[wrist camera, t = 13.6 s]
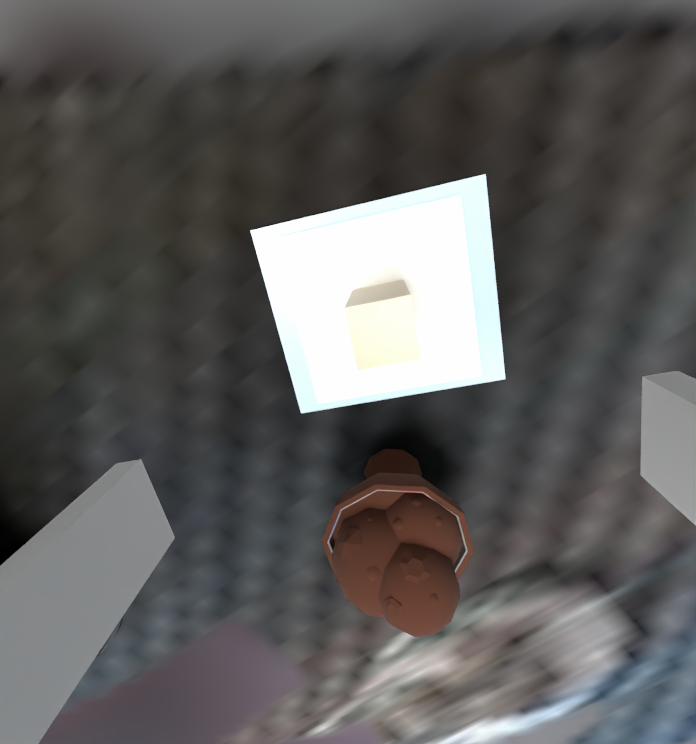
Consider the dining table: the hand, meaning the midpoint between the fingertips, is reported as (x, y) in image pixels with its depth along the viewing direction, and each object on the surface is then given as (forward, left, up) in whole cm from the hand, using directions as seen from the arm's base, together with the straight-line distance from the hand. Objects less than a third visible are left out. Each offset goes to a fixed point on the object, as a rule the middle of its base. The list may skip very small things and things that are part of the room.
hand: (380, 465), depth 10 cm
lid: (0, 0, -23) cm, 23 cm away
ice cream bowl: (-2, -16, -24) cm, 29 cm away
